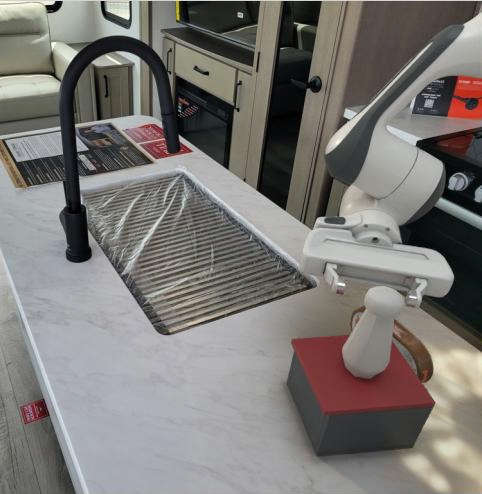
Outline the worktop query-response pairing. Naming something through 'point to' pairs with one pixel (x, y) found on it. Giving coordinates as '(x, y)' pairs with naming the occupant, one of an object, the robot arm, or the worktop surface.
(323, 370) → the storage bin lid
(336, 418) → the dark grey storage bin
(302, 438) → the worktop surface
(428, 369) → the tin
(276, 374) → the worktop surface
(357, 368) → the salt shaker
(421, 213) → the robot arm
